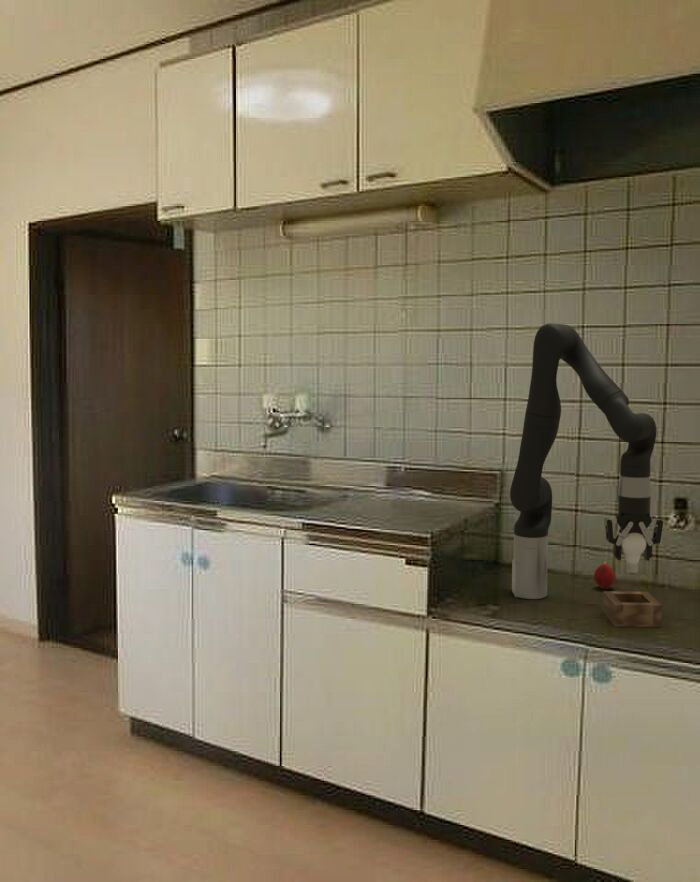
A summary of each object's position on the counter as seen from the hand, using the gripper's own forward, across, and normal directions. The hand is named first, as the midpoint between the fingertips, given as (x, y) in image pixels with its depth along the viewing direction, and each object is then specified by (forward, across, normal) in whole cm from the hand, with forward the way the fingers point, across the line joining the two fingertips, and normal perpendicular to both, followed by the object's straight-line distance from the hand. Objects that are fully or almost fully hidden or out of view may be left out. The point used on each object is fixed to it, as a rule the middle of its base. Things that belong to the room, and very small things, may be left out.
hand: (632, 559), depth 197 cm
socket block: (+15, 0, 0) cm, 15 cm away
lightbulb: (+4, 0, 0) cm, 4 cm away
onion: (+16, 0, +26) cm, 30 cm away
